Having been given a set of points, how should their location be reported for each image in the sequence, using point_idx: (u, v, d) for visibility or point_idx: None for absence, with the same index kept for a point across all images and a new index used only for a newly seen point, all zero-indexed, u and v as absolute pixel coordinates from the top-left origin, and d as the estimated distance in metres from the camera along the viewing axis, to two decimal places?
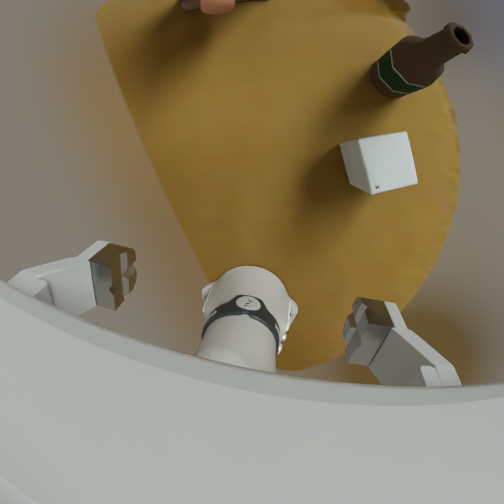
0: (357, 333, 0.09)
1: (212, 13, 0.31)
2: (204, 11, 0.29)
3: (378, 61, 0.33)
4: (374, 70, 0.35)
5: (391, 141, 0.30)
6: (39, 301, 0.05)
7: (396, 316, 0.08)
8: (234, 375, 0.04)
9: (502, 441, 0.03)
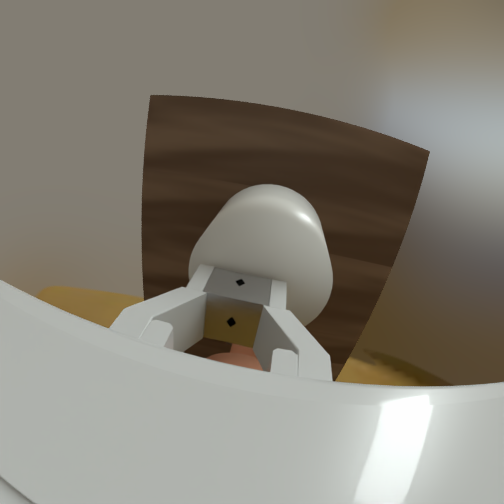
0: None
1: None
2: None
3: None
4: None
5: None
6: (39, 301, 0.05)
7: (278, 295, 0.08)
8: (234, 375, 0.04)
9: (502, 441, 0.03)
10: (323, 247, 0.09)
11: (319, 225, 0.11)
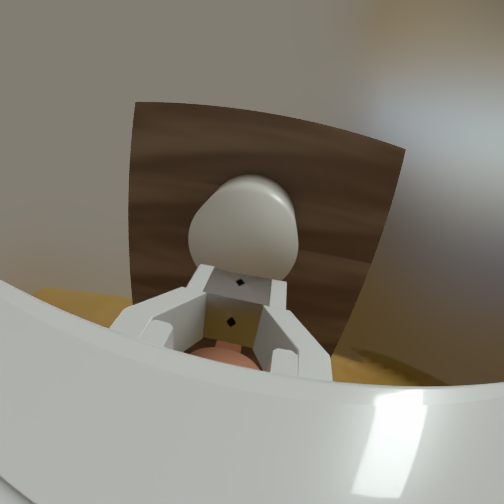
0: None
1: None
2: None
3: None
4: None
5: None
6: (39, 301, 0.05)
7: (278, 295, 0.08)
8: (234, 375, 0.04)
9: (502, 441, 0.03)
10: (289, 216, 0.12)
11: (289, 204, 0.14)
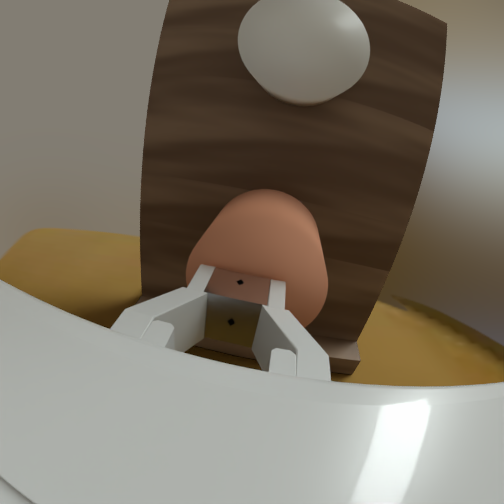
0: None
1: None
2: None
3: None
4: None
5: None
6: (39, 301, 0.05)
7: (277, 294, 0.08)
8: (234, 375, 0.04)
9: (502, 441, 0.03)
10: (356, 16, 0.07)
11: None
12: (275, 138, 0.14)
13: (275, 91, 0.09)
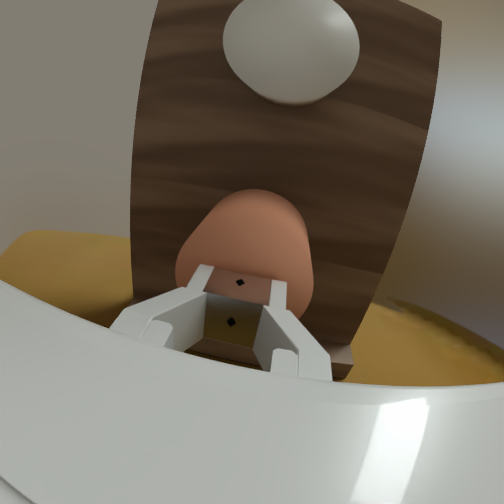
0: None
1: None
2: (183, 282, 0.10)
3: None
4: None
5: None
6: (39, 301, 0.05)
7: (278, 294, 0.08)
8: (234, 375, 0.04)
9: (502, 441, 0.03)
10: (345, 12, 0.07)
11: None
12: (264, 139, 0.14)
13: (261, 91, 0.09)
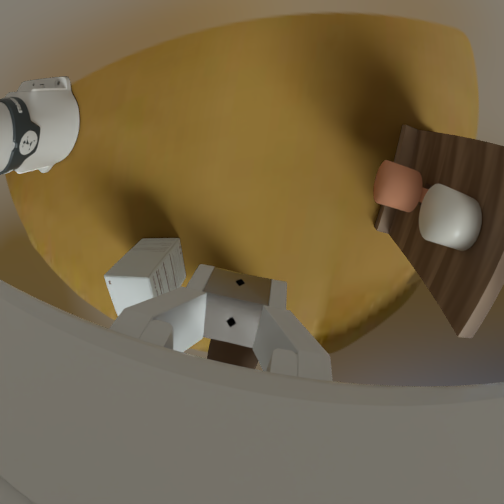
0: None
1: (380, 168, 0.29)
2: (385, 162, 0.28)
3: None
4: None
5: None
6: (39, 301, 0.05)
7: (278, 295, 0.08)
8: (234, 375, 0.04)
9: (502, 441, 0.03)
10: (435, 238, 0.19)
11: (453, 245, 0.19)
12: None
13: (425, 196, 0.22)
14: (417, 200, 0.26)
